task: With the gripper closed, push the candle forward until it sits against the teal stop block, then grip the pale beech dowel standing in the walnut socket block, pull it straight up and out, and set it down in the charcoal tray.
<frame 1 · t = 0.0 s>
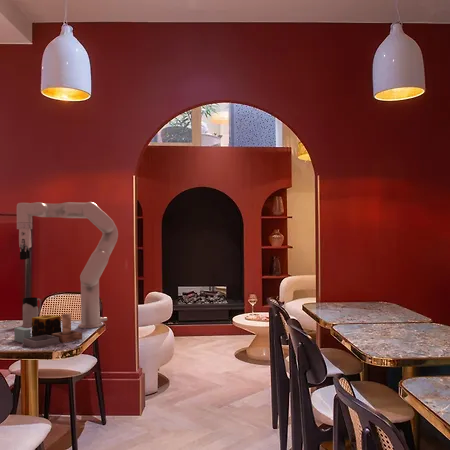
hand: (24, 258, 258), 37 cm above the table, tool pointing down, fingers open, 9 cm apart
socket block: (66, 339, 232), on the table
stop block: (22, 341, 230), on the table
candle: (46, 337, 239), on the table
dowel: (66, 326, 232), in the socket block
glass holder: (33, 325, 274), on the table
tray: (41, 344, 223), on the table
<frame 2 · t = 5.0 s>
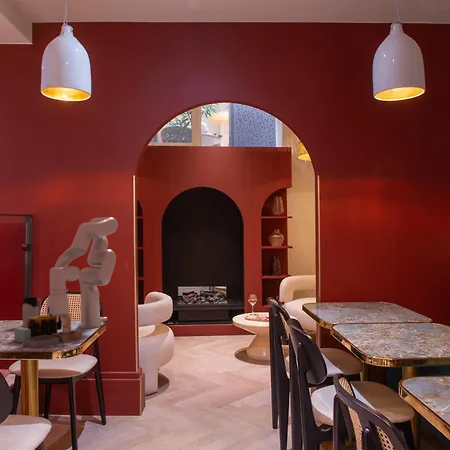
hand: (58, 329, 244), 3 cm above the table, tool pointing down, fingers closed
candle: (42, 338, 237), on the table, touching gripper
everything else where it was.
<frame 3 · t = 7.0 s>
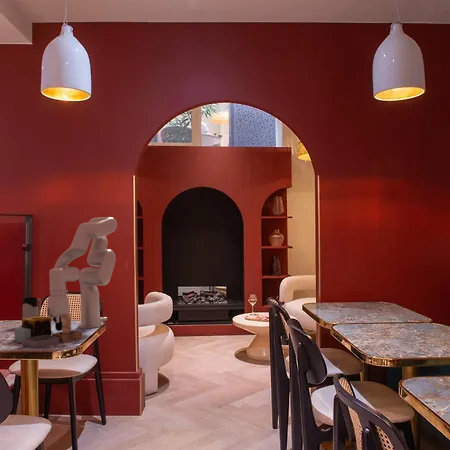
hand: (59, 330, 244), 2 cm above the table, tool pointing down, fingers closed
candle: (36, 339, 235), on the table
everything else where it was.
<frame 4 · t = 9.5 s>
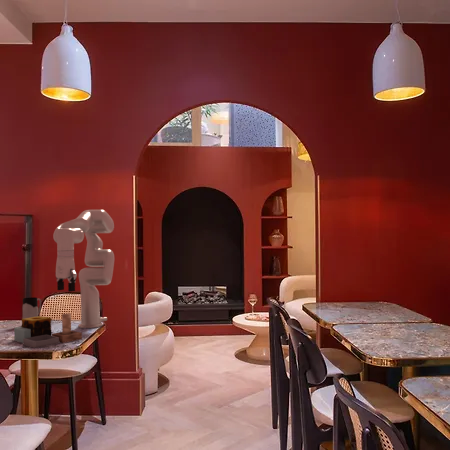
hand: (66, 290, 233), 23 cm above the table, tool pointing down, fingers open, 9 cm apart
nothing on the table moved.
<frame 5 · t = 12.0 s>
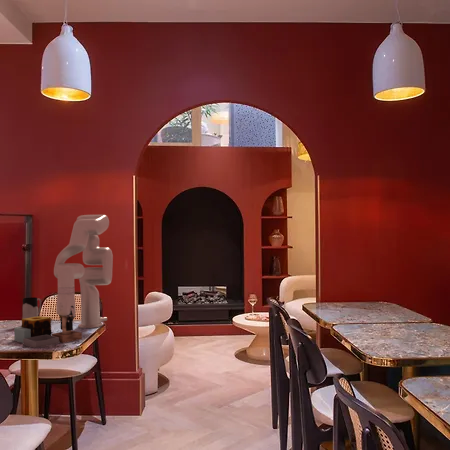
hand: (66, 329, 232), 5 cm above the table, tool pointing down, fingers closed on dowel, 4 cm apart
dowel: (66, 326, 232), in the socket block, touching gripper
everything else where it was.
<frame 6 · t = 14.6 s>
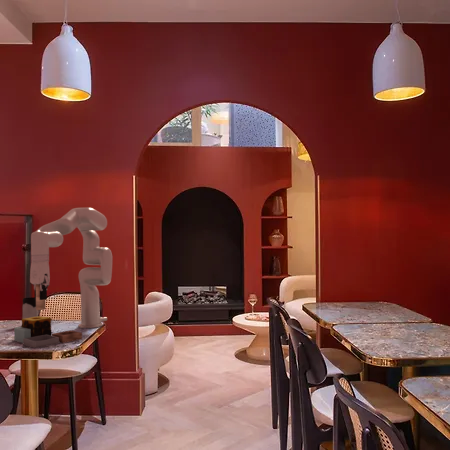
hand: (40, 298, 224), 21 cm above the table, tool pointing down, fingers closed on dowel, 4 cm apart
dowel: (40, 296, 224), point 22 cm above the table, touching gripper
everything else where it was.
when the fingers open (7 cm above the table, at t = 17.3 s): dowel drops 1 cm, resting on tray.
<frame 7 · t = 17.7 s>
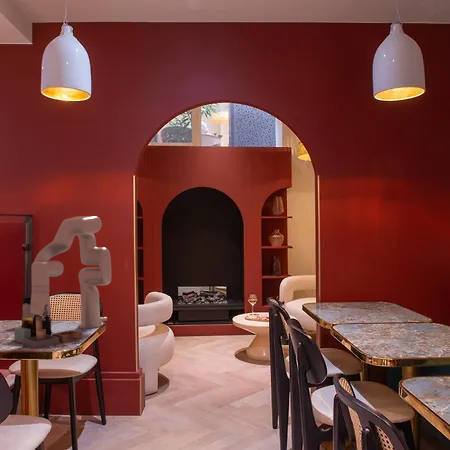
hand: (41, 327, 223), 7 cm above the table, tool pointing down, fingers open, 8 cm apart
dowel: (40, 329, 223), in the tray, point 7 cm above the table
everything else where it was.
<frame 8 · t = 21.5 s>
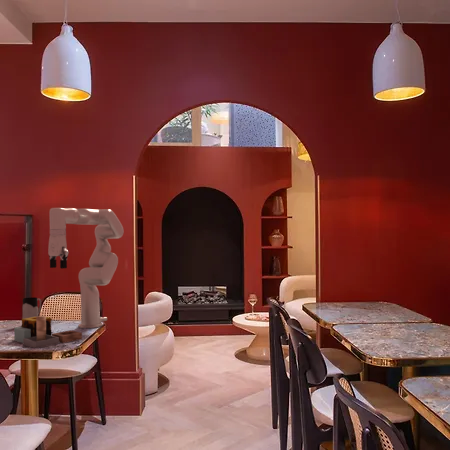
hand: (58, 268, 241), 33 cm above the table, tool pointing down, fingers open, 9 cm apart
nothing on the table moved.
at the end: candle inside the target area (0.4 cm from its centre), on the table; dowel inside the target area on the tray (0.0 cm from its centre), point 6.6 cm above the tray's base; the gripper is holding nothing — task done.
